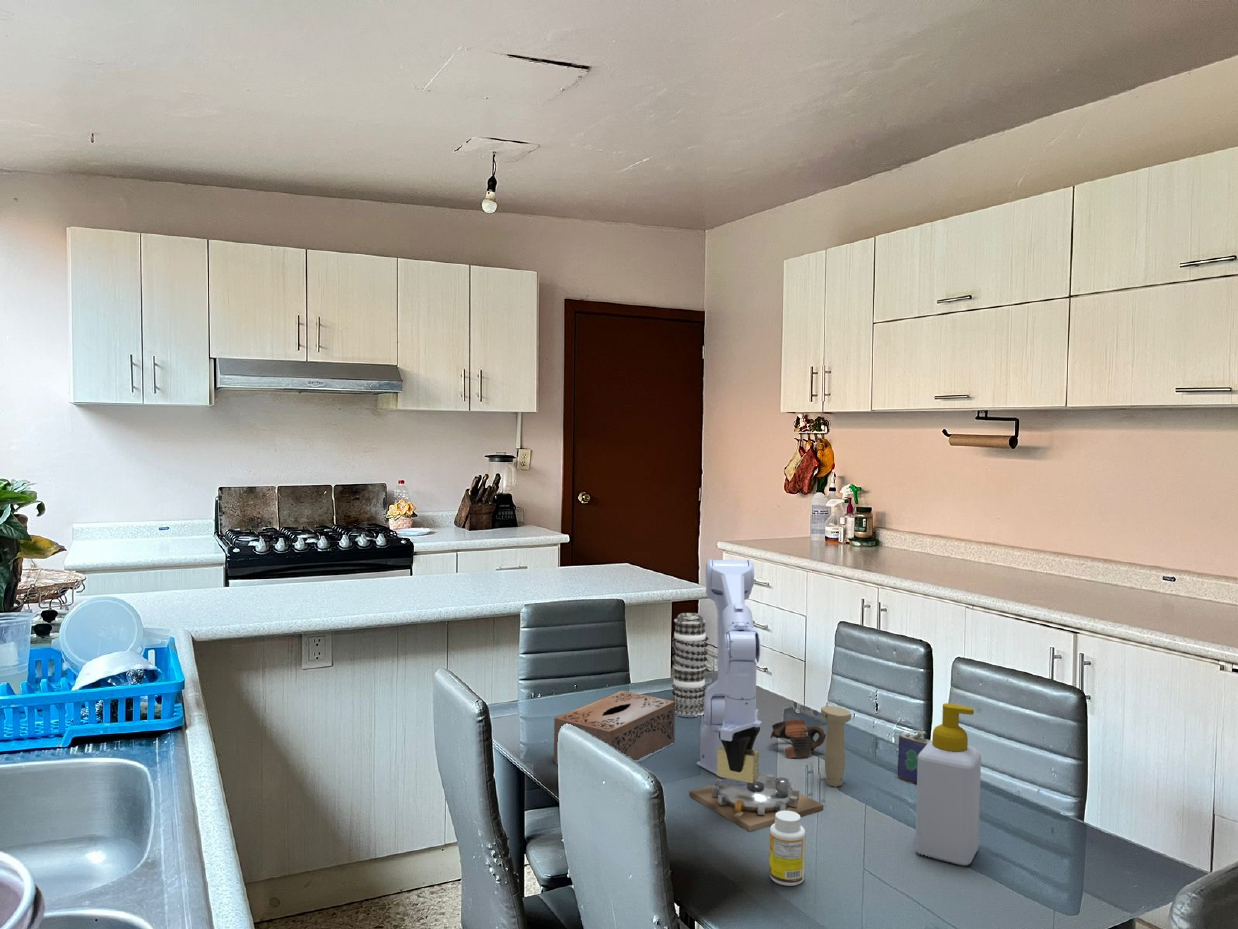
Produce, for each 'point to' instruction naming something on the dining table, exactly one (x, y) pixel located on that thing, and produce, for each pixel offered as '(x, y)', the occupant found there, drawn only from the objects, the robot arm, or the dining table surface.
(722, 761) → the yellow block
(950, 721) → the soap bottle
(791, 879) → the supplement bottle
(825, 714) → the handle
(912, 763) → the flask
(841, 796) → the dining table surface
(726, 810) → the sprocket base
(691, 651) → the decorative candle
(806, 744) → the pottery mug
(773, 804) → the sprocket
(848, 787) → the dining table surface
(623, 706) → the tissue box cover
